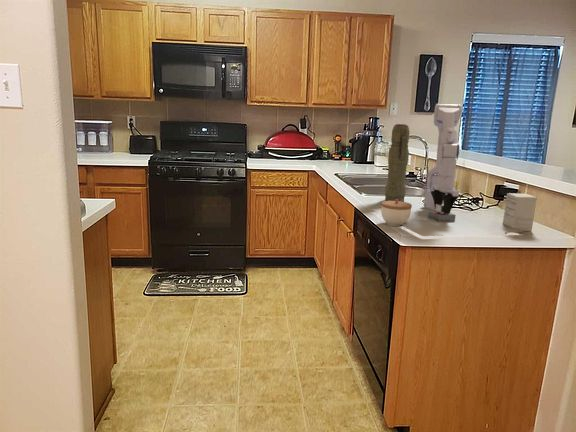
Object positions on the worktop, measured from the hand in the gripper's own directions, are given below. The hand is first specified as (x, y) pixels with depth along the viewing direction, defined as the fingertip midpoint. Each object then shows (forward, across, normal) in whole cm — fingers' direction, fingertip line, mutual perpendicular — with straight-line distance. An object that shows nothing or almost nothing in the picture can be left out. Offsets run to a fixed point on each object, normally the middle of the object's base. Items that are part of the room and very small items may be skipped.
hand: (442, 211), depth 168 cm
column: (+3, 0, 0) cm, 3 cm away
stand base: (+4, 0, 0) cm, 4 cm away
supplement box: (+4, +13, +23) cm, 27 cm away
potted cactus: (+4, -39, +1) cm, 39 cm away
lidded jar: (+4, +1, -20) cm, 20 cm away
